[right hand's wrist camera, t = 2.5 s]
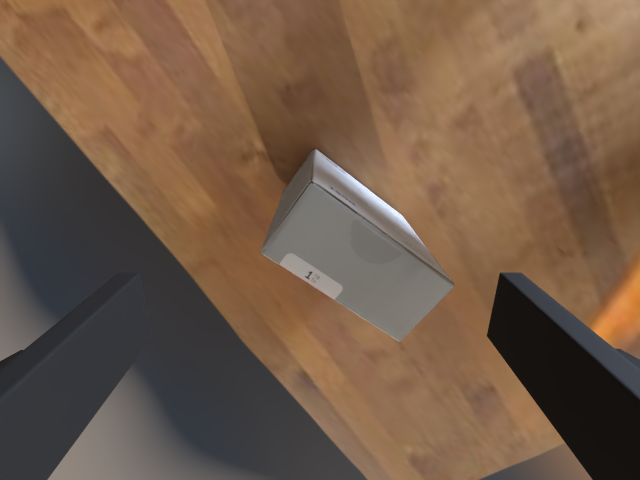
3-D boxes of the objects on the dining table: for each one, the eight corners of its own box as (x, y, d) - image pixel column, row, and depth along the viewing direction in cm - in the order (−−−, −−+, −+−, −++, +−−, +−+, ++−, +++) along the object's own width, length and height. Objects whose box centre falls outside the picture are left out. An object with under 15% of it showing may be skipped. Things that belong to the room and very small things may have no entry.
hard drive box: (280, 193, 46) (254, 250, 28) (314, 146, 44) (310, 174, 26) (369, 256, 50) (399, 344, 31) (405, 215, 48) (459, 284, 29)
